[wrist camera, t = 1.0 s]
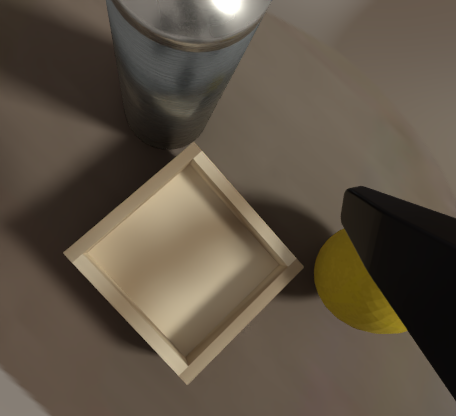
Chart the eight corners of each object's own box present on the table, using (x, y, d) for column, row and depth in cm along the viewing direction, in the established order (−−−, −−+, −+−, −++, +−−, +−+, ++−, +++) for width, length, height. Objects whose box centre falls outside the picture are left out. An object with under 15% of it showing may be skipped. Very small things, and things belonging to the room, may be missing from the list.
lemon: (326, 207, 24) (411, 192, 17) (392, 260, 25) (503, 271, 17) (275, 280, 23) (339, 301, 16) (345, 334, 24) (440, 380, 16)
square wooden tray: (281, 262, 24) (304, 266, 20) (180, 362, 22) (187, 385, 19) (186, 156, 23) (193, 141, 20) (76, 250, 21) (62, 252, 18)
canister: (224, 114, 24) (316, -29, 11) (163, 166, 23) (186, 74, 10) (170, 51, 23) (200, -173, 11) (106, 101, 22) (53, -79, 10)
